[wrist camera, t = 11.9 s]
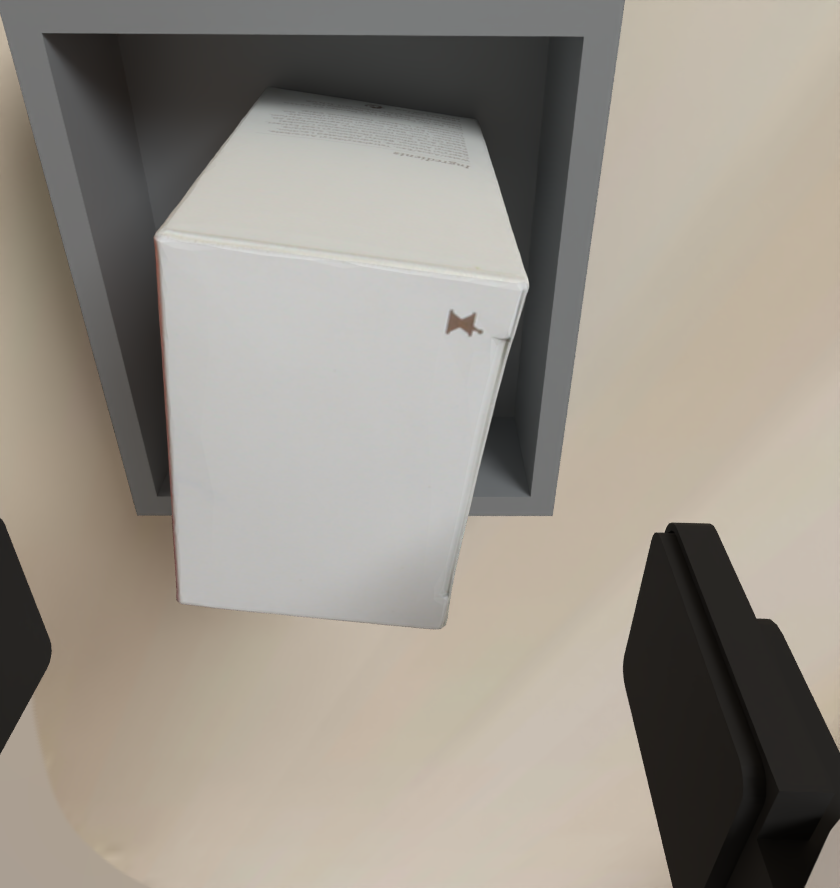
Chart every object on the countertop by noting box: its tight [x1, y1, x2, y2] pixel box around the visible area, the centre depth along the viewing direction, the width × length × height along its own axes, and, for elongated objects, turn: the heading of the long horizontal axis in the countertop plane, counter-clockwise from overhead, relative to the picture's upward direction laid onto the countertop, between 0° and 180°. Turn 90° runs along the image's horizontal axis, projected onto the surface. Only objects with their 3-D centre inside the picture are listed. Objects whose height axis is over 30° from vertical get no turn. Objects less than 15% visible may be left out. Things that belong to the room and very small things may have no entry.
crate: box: [0, 0, 625, 516], centre depth 20 cm, size 12×13×5 cm
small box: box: [154, 87, 529, 629], centre depth 17 cm, size 8×6×10 cm
